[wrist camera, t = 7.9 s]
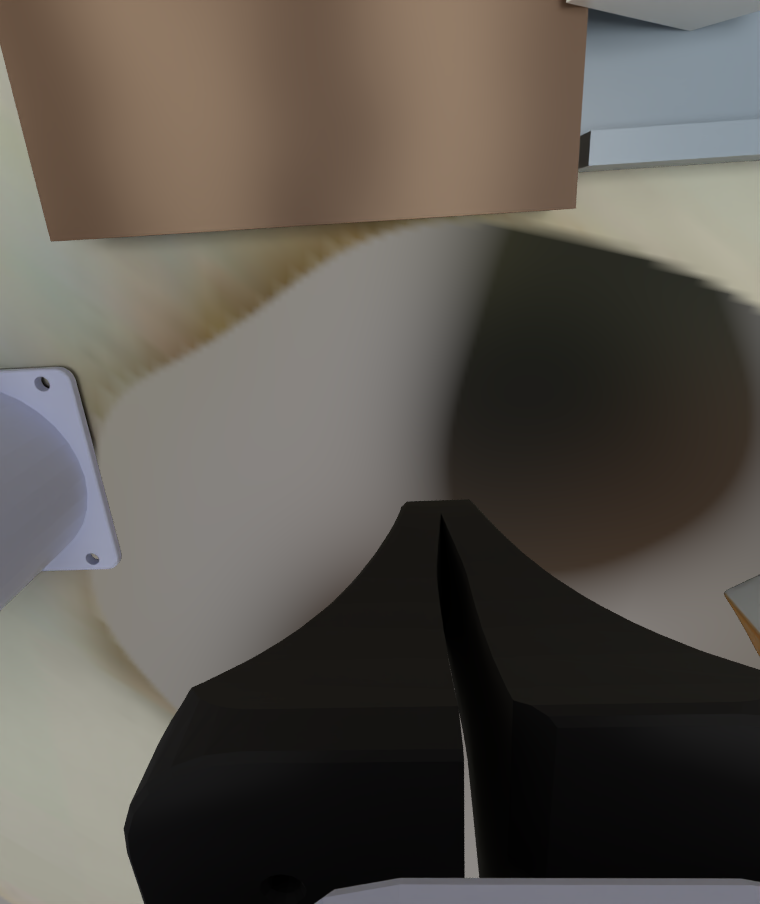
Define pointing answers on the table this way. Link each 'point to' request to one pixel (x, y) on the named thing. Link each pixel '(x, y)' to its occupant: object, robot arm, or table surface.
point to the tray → (669, 93)
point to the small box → (747, 607)
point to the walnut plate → (293, 110)
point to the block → (675, 10)
